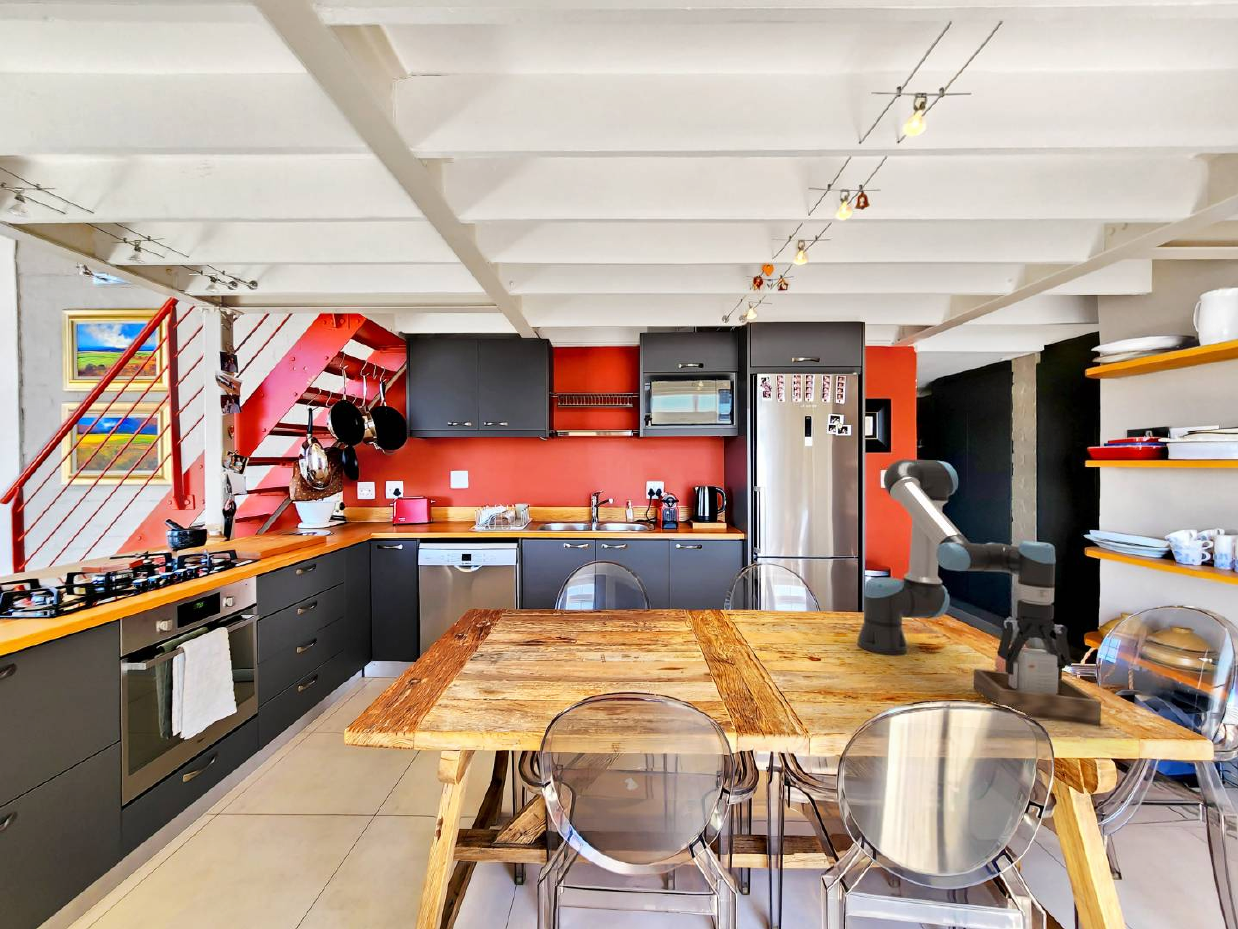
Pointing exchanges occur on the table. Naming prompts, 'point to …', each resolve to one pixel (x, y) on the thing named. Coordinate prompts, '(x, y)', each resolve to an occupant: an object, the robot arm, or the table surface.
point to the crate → (1039, 699)
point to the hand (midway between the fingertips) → (1032, 688)
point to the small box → (1036, 671)
